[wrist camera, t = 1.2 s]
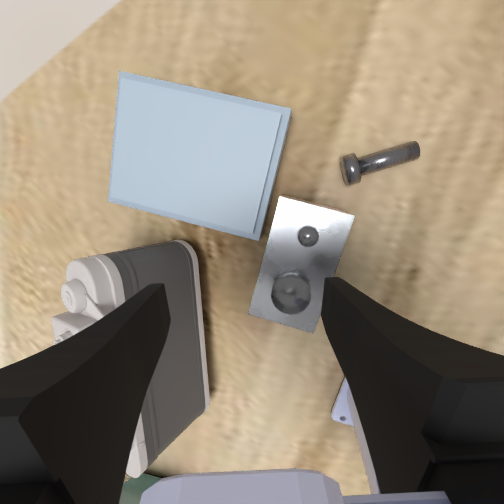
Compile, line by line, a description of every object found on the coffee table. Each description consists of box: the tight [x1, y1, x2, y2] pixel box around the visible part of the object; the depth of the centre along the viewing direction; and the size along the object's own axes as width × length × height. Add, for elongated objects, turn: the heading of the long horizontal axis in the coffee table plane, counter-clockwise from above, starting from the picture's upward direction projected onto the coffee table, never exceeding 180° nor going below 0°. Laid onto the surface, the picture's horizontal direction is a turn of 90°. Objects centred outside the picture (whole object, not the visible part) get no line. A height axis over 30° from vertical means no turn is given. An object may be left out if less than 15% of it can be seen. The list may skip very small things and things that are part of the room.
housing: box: [248, 194, 355, 334], centre depth 19 cm, size 4×8×6 cm, turn 166°
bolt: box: [340, 141, 420, 186], centre depth 18 cm, size 5×2×2 cm, turn 106°
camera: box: [51, 240, 210, 478], centre depth 21 cm, size 9×16×10 cm, turn 3°
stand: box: [108, 71, 291, 241], centre depth 20 cm, size 12×9×2 cm
